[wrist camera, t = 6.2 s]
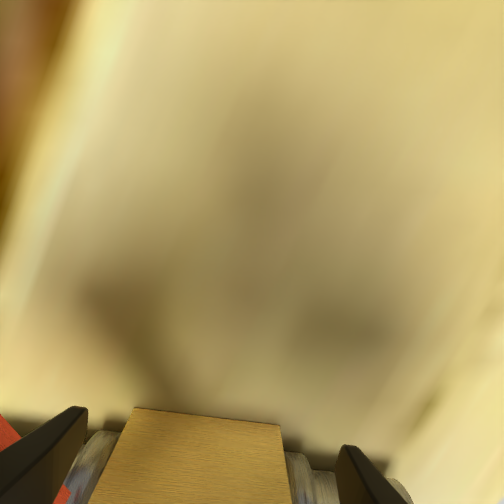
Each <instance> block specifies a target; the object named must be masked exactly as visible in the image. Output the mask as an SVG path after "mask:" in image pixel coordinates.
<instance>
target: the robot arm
mask: <svg viewBox="0 0 504 504" xmlns="http://www.w3.org/2000/svg"><path fill="white" fill-rule="evenodd" d="M87 423H88V409H87V408H86V407H79V406H72V407H70V408H68V409H66V410H65V411H63V412H62V413H60V414H58V415H57V416H55V417H54V418H52V419H51V420H49V421H47V422H46V423H44V424H43V425H41V426H40V427H38V428H37V429H35V430H33V431H32V432H30V433H29V434H27V435H26V436H24V437H22V438H21V439H19V440H18V441H16V442H15V443H13V444H11V445H10V446H8V447H7V448H5V449H4V450H2V451H0V504H53V502H54V501H55V499H56V497H57V495H58V493H59V491H60V489H61V487H62V485H63V482H64V480H65V478H66V476H67V474H68V472H69V470H70V468H71V466H72V464H73V462H74V460H75V458H76V456H77V454H78V452H79V450H80V448H81V446H82V444H83V442H84V439H85V437H86V433H87ZM335 478H336V484H337V490H338V496H339V502H340V504H408V503H407V502H406V500H405V499H404V498H403V497H402V496H401V495H400V494H399V493H398V491H397V490H396V489H395V488H394V487H393V486H392V485H391V484H390V482H389V481H388V480H387V479H386V478H385V477H384V476H383V475H382V474H381V472H380V471H379V470H378V469H377V468H376V467H375V466H374V465H373V463H372V462H371V461H370V460H369V459H368V458H367V457H366V456H365V455H364V453H363V452H362V451H361V450H360V449H359V448H358V447H357V446H353V445H346V444H344V445H343V446H342V447H341V449H340V453H339V456H338V459H337V462H336V465H335Z"/></svg>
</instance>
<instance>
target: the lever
mask: <svg viewBox="0 0 504 504" xmlns="http://www.w3.org/2000/svg"><path fill="white" fill-rule="evenodd" d="M19 439H21V437H20V435H19V434H18V433H17V432H16V431H15V430H14V429H13V428H12V427H11V425H10V424H9V423H8V422H7V421H6V420H5V419H4V418H3V417H2V416H1V414H0V451H2V450H4V449H5V448H7V447H8V446H10V445H11V444H13V443H15V442H16V441H18V440H19ZM70 495H71V492H70V491H69V490H68V489H67V488H66V486H65V485H64V484H63V485H62V487H61V489H60V491H59V493H58V495H57V497H56V499H55V501H54V502H53V504H66V502H67V500H68V498H69V496H70Z"/></svg>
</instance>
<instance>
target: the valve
mask: <svg viewBox="0 0 504 504" xmlns="http://www.w3.org/2000/svg"><path fill="white" fill-rule="evenodd" d="M21 438H22V437H21ZM386 479H387V480H388V481H389V482H390V484H391V485H392V486H393V487H394V488H395V489H396V490H397V491H398V493H399V494H400V495H401V496H402V497H403V498H404V499H405V500H406V502H407V503H408V504H414V503H413V501H412V499H411V497H410V495H409V494H408V492H407V491H406V489H405V488H404V487H403V485H402V484H401V483H400V482H398V481H397V480H395V479H392V478H386ZM63 484H64V485H65V486H66V488H67V489H68V490H69V491H70V492H71V495H70V496H69V498H68V500H67V502H66V504H340V502H339V496H338V490H337V484H336V478H335V472H330V471H321V470H312V469H311V467H310V464H309V462H308V460H307V458H306V456H305V455H304V454H302V453H296V452H287V451H284V450H283V444H282V438H281V432H280V425H272V424H263V423H255V422H247V421H239V420H231V419H222V418H214V417H206V416H198V415H190V414H181V413H173V412H165V411H157V410H149V409H140V408H134V409H133V411H132V413H131V415H130V417H129V419H128V421H127V423H126V425H125V427H124V429H123V431H122V432H114V431H105V430H99V431H97V432H96V433H95V434H94V435H93V436H92V437H91V438H90V439H89V441H88V442H87V444H82V446H81V448H80V450H79V452H78V454H77V456H76V458H75V460H74V462H73V464H72V466H71V468H70V470H69V472H68V474H67V476H66V478H65V480H64V482H63Z"/></svg>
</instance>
